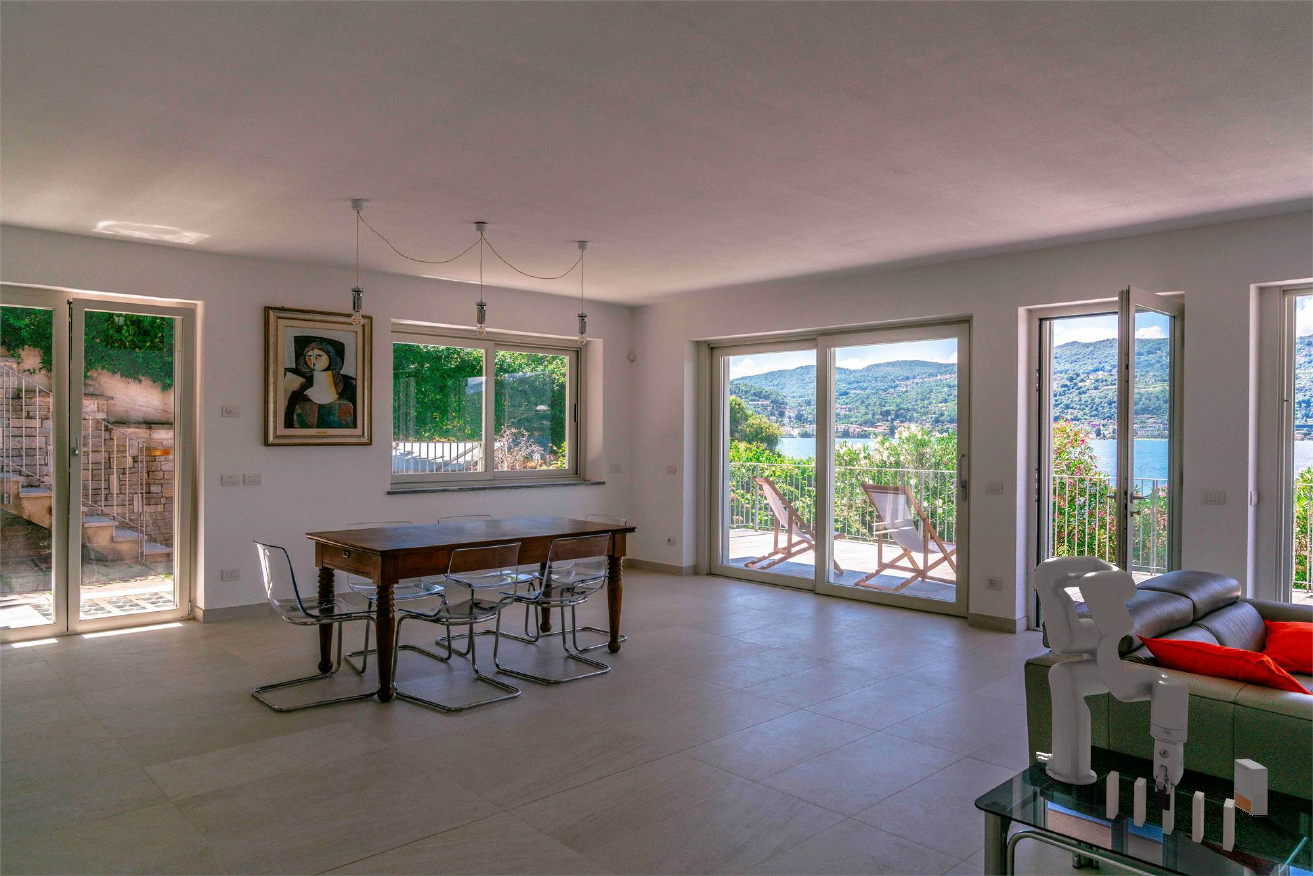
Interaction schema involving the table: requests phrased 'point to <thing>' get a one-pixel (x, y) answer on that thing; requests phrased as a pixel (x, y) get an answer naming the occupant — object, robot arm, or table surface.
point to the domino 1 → (1112, 794)
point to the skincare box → (1250, 787)
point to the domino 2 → (1139, 801)
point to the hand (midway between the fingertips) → (1165, 801)
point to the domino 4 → (1198, 817)
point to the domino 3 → (1169, 814)
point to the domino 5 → (1229, 824)
